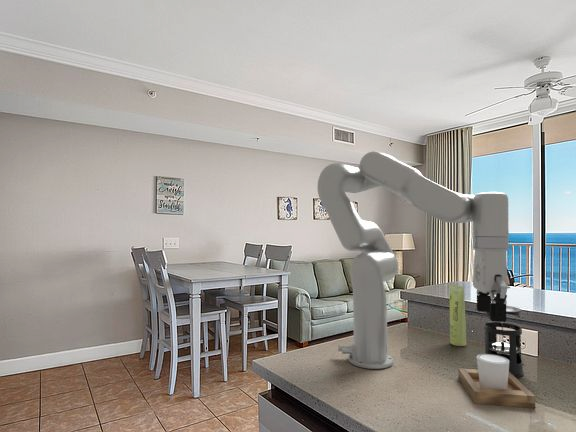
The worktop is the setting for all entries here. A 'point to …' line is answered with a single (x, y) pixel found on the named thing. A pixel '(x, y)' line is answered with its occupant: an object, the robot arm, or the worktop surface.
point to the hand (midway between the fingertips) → (490, 316)
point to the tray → (496, 391)
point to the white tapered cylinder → (493, 371)
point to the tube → (457, 316)
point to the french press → (502, 347)
